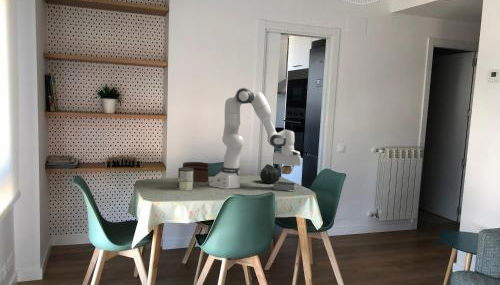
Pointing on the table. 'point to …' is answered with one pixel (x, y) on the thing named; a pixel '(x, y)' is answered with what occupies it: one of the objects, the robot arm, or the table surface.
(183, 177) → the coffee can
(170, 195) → the table surface
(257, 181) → the table surface
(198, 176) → the letter holder
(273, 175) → the squash
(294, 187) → the charcoal crate
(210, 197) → the table surface
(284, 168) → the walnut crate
